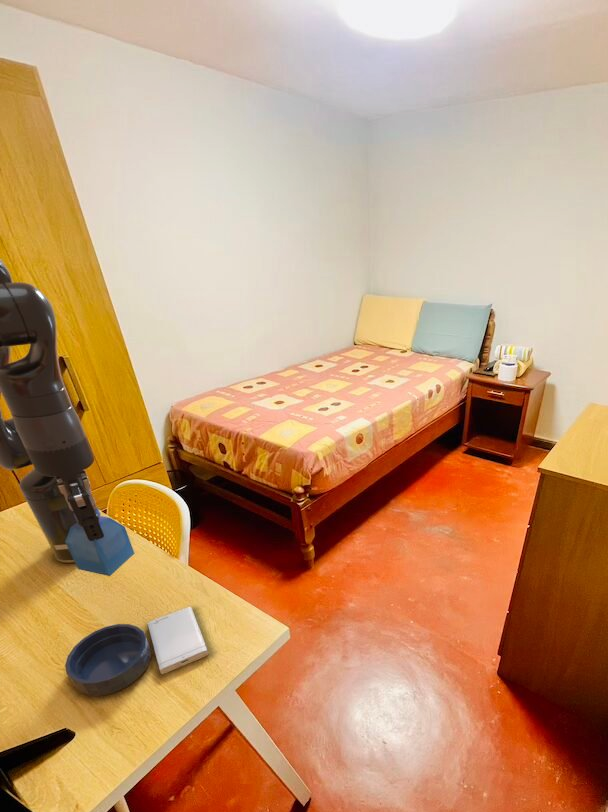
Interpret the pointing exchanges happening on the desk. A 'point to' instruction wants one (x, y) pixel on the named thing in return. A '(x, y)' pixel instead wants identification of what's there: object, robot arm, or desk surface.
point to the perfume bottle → (100, 547)
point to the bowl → (108, 659)
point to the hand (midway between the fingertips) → (93, 528)
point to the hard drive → (177, 640)
